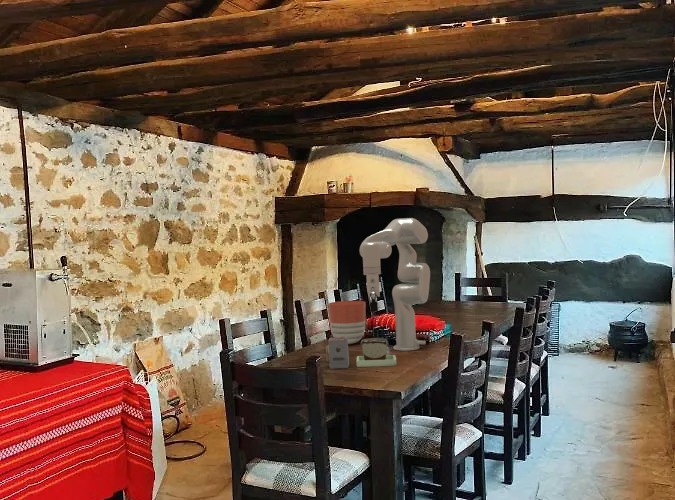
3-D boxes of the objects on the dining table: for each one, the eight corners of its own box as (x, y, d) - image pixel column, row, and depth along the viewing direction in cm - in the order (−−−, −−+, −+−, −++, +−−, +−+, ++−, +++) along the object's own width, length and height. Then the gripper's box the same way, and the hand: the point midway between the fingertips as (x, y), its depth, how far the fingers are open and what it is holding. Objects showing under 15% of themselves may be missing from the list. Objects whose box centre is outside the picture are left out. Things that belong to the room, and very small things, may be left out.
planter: (365, 339, 331) (364, 300, 330) (368, 345, 311) (366, 303, 311) (329, 341, 330) (328, 301, 330) (330, 347, 311) (328, 305, 310)
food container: (391, 360, 268) (390, 337, 268) (389, 363, 262) (387, 340, 262) (364, 360, 272) (363, 337, 271) (361, 363, 266) (360, 340, 266)
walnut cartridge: (337, 359, 279) (337, 344, 278) (337, 362, 274) (336, 346, 273) (326, 360, 279) (326, 345, 279) (326, 362, 274) (325, 347, 274)
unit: (349, 364, 268) (347, 336, 268) (348, 368, 259) (347, 340, 259) (330, 364, 268) (328, 337, 268) (328, 369, 260) (327, 340, 259)
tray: (395, 360, 271) (395, 354, 271) (396, 365, 260) (396, 359, 260) (357, 361, 272) (356, 356, 272) (356, 367, 261) (356, 361, 261)
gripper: (381, 271, 257) (383, 312, 257) (380, 269, 274) (382, 307, 275) (363, 272, 257) (365, 313, 258) (363, 270, 275) (365, 308, 275)
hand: (373, 310), depth 266 cm, fingers open, 9 cm apart
